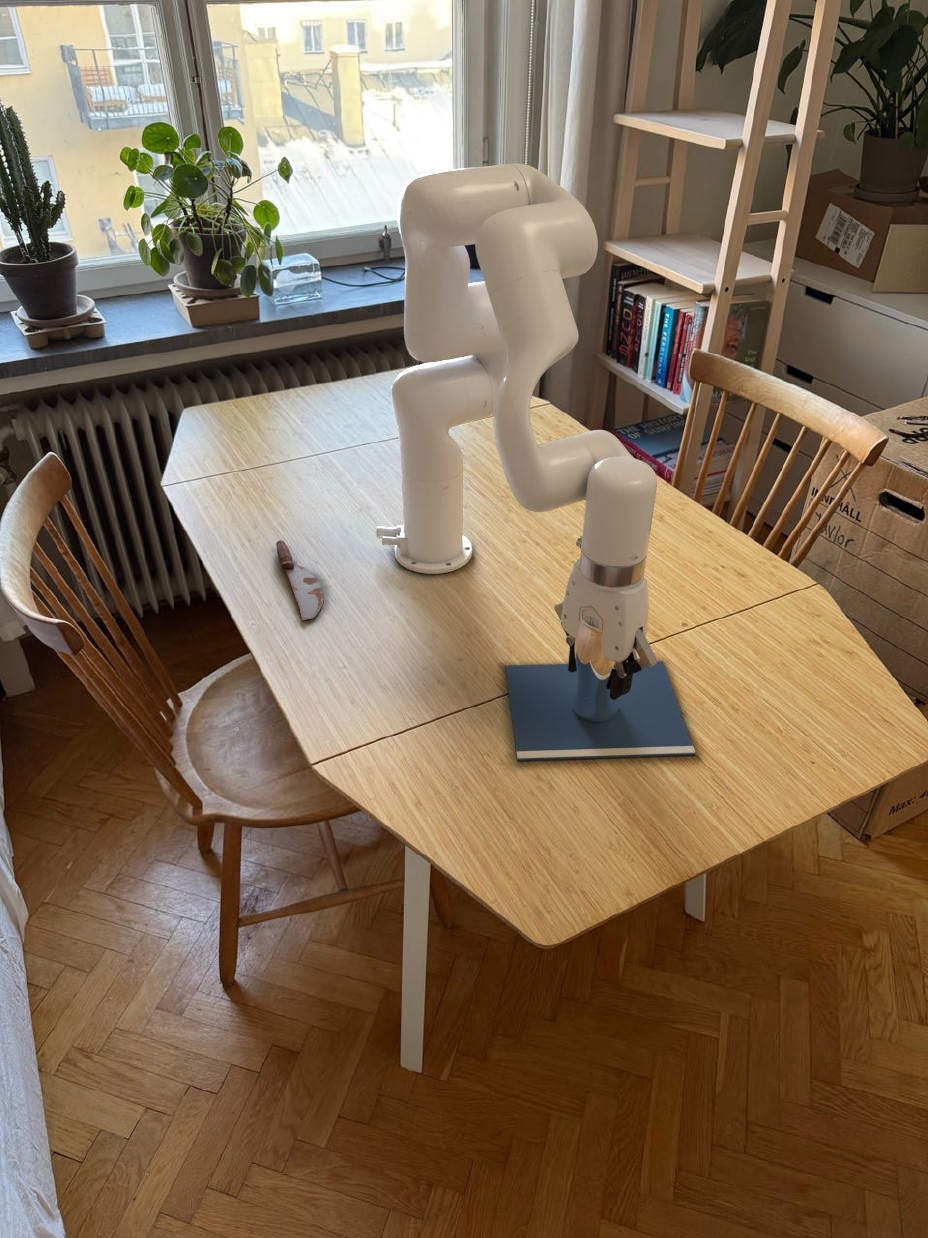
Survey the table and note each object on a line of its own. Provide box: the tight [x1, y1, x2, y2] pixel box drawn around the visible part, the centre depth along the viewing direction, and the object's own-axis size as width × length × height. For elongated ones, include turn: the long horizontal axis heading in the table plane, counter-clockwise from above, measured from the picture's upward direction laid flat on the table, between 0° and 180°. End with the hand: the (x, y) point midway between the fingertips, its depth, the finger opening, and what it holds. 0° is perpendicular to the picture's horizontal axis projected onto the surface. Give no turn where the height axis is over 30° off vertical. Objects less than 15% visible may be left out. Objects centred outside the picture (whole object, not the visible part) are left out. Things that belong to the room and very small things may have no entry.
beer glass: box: [572, 618, 628, 722], centre depth 115 cm, size 7×7×15 cm
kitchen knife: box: [275, 539, 325, 621], centre depth 143 cm, size 21×2×5 cm
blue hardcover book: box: [504, 660, 697, 763], centre depth 120 cm, size 22×18×1 cm
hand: (598, 679), depth 117 cm, fingers closed on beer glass, 6 cm apart
